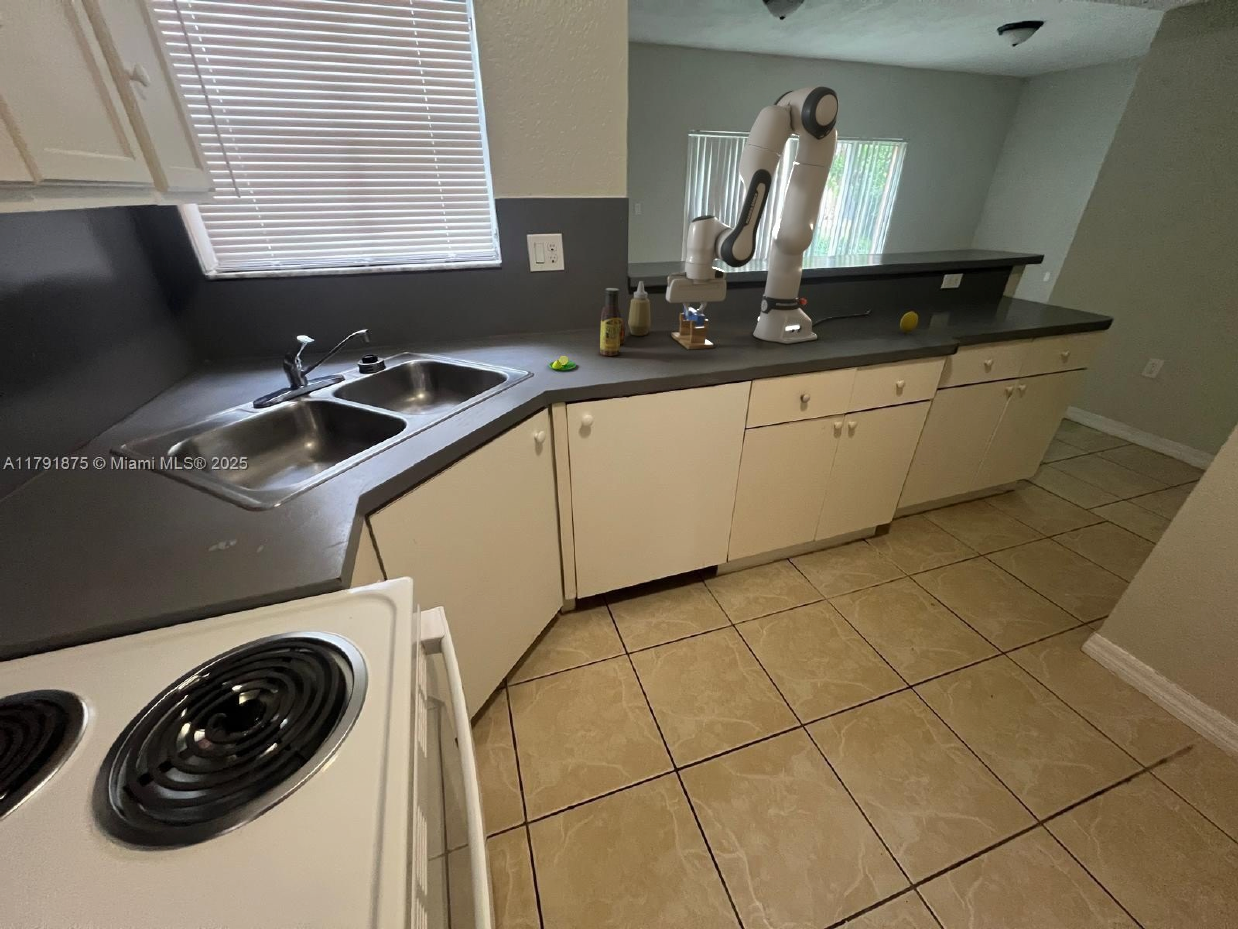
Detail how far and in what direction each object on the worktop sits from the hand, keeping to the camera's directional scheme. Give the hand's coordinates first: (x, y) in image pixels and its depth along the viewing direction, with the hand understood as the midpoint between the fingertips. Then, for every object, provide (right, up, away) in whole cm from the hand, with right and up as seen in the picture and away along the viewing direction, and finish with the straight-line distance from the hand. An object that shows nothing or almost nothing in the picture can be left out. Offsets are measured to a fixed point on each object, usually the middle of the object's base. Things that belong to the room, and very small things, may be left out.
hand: (693, 315), depth 163 cm
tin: (-27, -8, +3) cm, 28 cm away
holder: (0, -8, +5) cm, 9 cm away
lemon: (+83, -1, +20) cm, 86 cm away
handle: (0, -1, +1) cm, 2 cm away
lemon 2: (-42, -22, -20) cm, 51 cm away
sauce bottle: (-28, -15, -8) cm, 33 cm away
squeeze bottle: (-18, -3, +12) cm, 22 cm away
